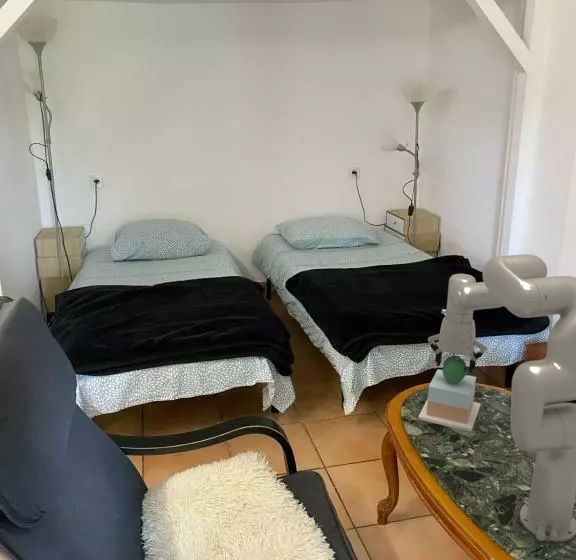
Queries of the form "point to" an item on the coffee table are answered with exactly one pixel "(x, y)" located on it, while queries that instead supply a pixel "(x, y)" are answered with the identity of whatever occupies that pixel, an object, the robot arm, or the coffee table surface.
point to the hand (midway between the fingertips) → (454, 367)
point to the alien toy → (454, 369)
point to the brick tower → (451, 403)
